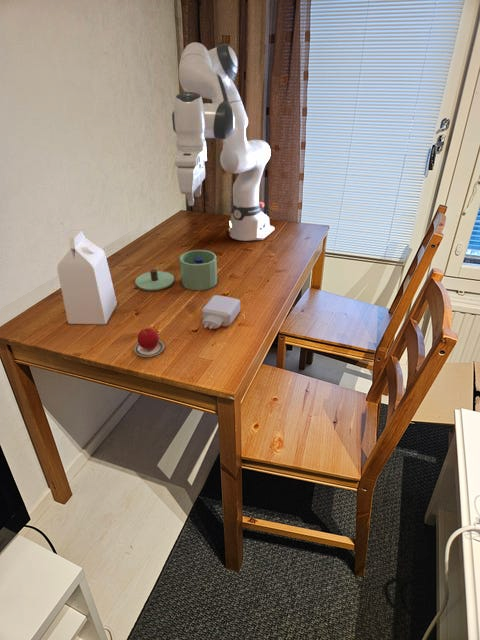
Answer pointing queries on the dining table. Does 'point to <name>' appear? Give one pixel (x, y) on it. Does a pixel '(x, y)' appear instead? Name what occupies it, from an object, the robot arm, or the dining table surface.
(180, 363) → the dining table surface
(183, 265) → the tin
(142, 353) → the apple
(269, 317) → the dining table surface
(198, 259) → the glue stick
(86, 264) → the milk
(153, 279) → the tin lid
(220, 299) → the charger
